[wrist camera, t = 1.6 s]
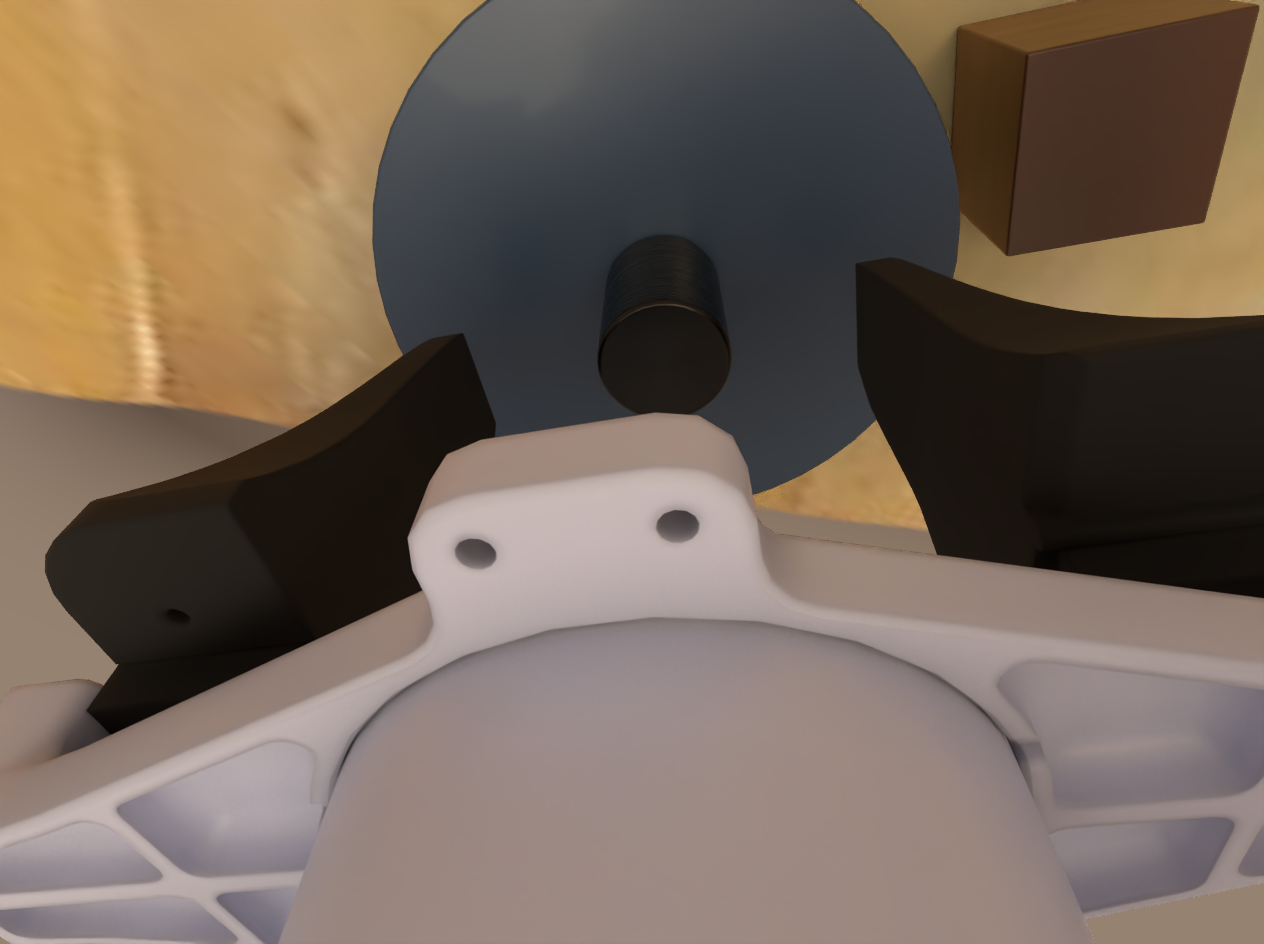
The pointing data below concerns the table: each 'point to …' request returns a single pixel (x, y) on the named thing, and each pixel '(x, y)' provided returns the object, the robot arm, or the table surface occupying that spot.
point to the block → (1095, 117)
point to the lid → (663, 211)
